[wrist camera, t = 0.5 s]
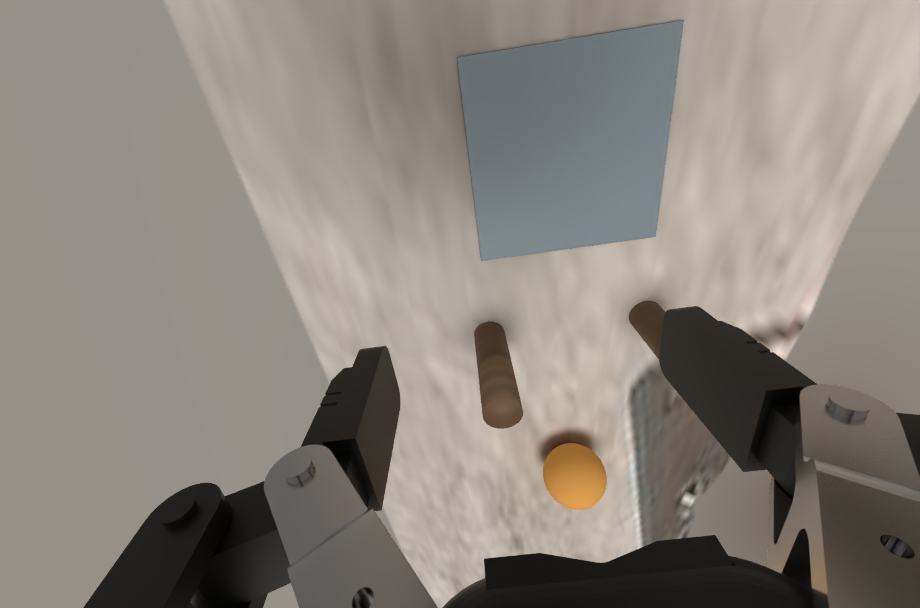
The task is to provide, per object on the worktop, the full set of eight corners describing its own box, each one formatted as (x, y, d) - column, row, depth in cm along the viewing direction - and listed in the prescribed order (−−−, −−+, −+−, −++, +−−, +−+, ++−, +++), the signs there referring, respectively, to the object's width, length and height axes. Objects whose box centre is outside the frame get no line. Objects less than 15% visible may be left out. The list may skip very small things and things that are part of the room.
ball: (536, 433, 38) (550, 488, 33) (595, 426, 38) (618, 480, 33) (538, 471, 41) (551, 526, 36) (593, 464, 41) (614, 519, 36)
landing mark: (456, 57, 22) (457, 57, 22) (681, 20, 21) (683, 20, 21) (481, 260, 28) (481, 260, 28) (654, 235, 28) (655, 236, 28)
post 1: (472, 324, 31) (480, 402, 24) (503, 320, 31) (521, 397, 23) (476, 348, 33) (484, 430, 25) (505, 345, 33) (524, 426, 25)
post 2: (630, 303, 31) (692, 376, 23) (662, 299, 31) (735, 371, 23) (627, 329, 32) (685, 406, 24) (658, 325, 32) (726, 402, 24)
